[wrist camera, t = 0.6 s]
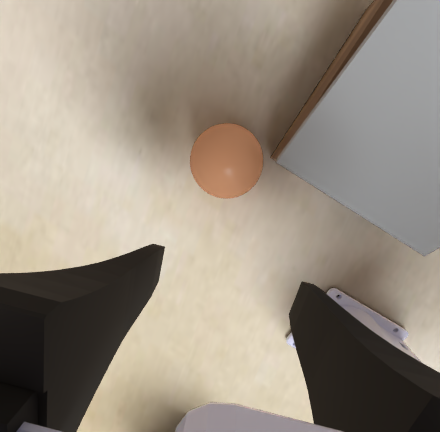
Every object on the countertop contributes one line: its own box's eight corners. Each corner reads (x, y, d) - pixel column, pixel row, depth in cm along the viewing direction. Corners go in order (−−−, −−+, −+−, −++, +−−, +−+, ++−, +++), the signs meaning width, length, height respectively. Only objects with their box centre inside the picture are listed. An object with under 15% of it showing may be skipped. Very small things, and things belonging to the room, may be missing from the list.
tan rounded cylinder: (268, 149, 19) (278, 149, 15) (237, 198, 21) (237, 211, 16) (218, 117, 19) (213, 107, 15) (190, 169, 20) (177, 174, 16)
